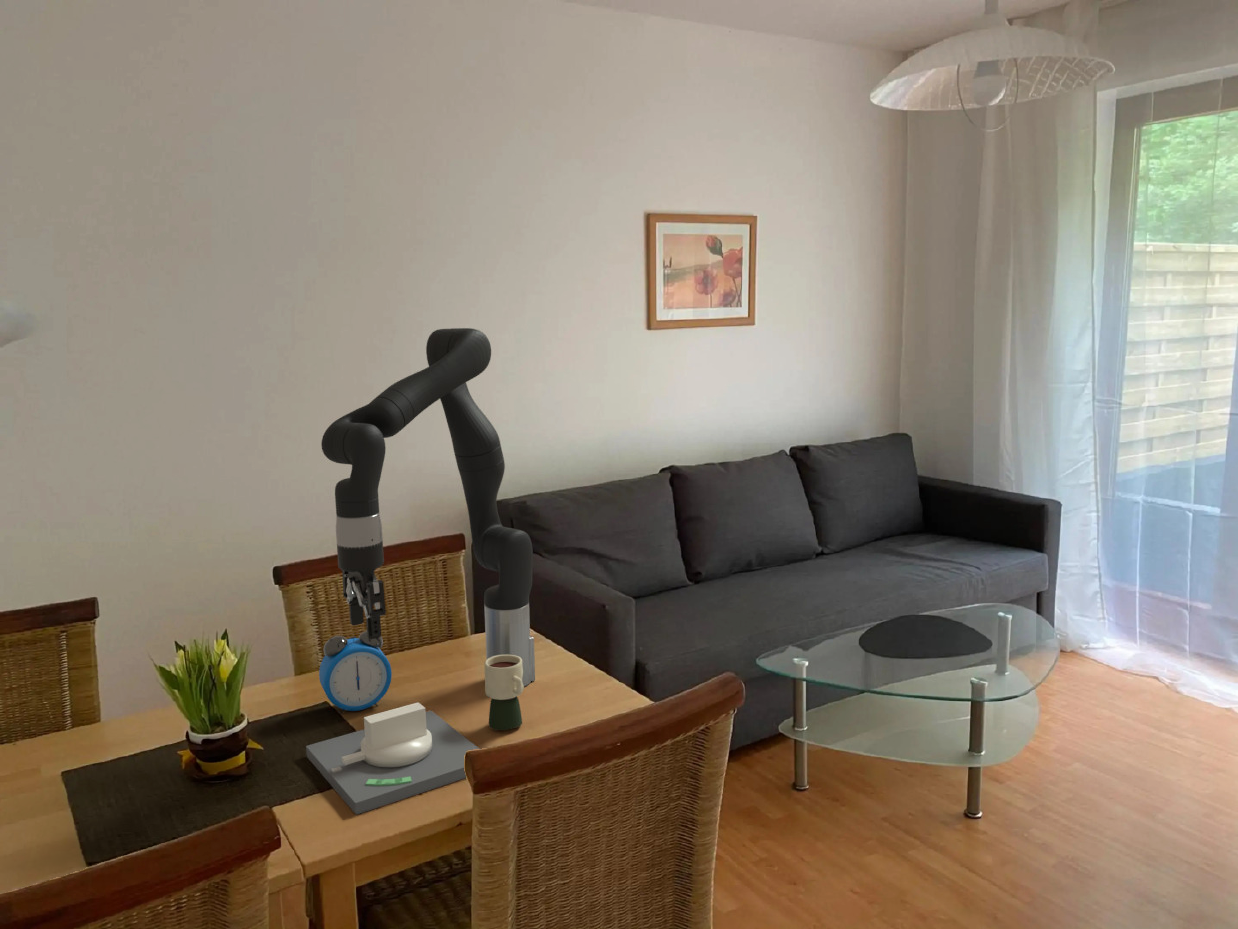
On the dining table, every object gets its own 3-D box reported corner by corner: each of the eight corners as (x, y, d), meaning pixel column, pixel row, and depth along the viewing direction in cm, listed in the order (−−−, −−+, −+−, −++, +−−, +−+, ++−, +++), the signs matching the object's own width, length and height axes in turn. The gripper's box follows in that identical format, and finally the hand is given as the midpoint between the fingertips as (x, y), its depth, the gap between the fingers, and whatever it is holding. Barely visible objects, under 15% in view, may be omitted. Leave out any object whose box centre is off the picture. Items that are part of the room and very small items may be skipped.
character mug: (537, 730, 176) (536, 664, 174) (505, 742, 171) (503, 674, 169) (505, 711, 184) (503, 648, 182) (474, 722, 180) (471, 657, 177)
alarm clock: (326, 718, 182) (321, 645, 179) (320, 707, 187) (315, 635, 185) (394, 705, 188) (390, 633, 185) (386, 693, 193) (382, 624, 190)
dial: (414, 728, 172) (413, 692, 171) (443, 753, 162) (442, 715, 161) (331, 753, 163) (328, 715, 162) (356, 781, 154) (354, 741, 152)
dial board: (431, 720, 181) (431, 709, 180) (491, 769, 162) (491, 756, 161) (306, 756, 167) (305, 744, 166) (356, 815, 148) (355, 801, 147)
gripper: (396, 545, 156) (401, 638, 159) (366, 528, 167) (372, 615, 170) (351, 552, 152) (358, 648, 154) (324, 534, 163) (330, 624, 166)
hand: (365, 631), depth 162 cm, fingers open, 8 cm apart
